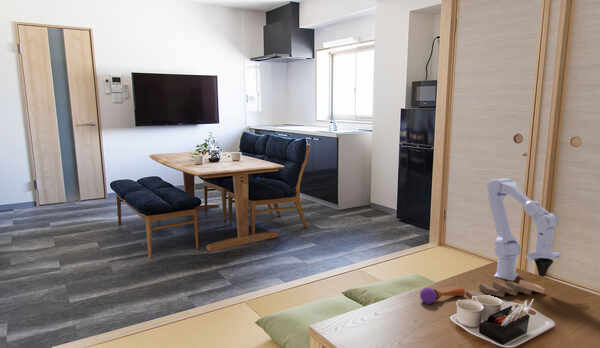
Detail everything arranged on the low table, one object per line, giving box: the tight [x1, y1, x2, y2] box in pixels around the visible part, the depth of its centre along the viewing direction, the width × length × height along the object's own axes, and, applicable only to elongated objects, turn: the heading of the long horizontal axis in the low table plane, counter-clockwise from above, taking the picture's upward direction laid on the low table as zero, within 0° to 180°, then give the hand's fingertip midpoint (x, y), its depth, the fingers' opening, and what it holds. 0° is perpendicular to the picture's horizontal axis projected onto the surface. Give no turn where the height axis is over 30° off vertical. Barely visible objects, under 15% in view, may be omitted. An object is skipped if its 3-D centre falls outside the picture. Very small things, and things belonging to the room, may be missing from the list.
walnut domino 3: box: [491, 280, 519, 297], centre depth 167 cm, size 2×5×8 cm
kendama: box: [419, 287, 466, 305], centre depth 161 cm, size 6×6×20 cm
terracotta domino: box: [518, 279, 546, 294], centre depth 169 cm, size 2×5×8 cm
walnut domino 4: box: [505, 280, 533, 296], centre depth 168 cm, size 2×5×8 cm
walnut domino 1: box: [465, 289, 491, 299], centre depth 164 cm, size 2×5×8 cm
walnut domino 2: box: [478, 283, 506, 298], centre depth 166 cm, size 2×5×8 cm
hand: (541, 275), depth 169 cm, fingers closed
